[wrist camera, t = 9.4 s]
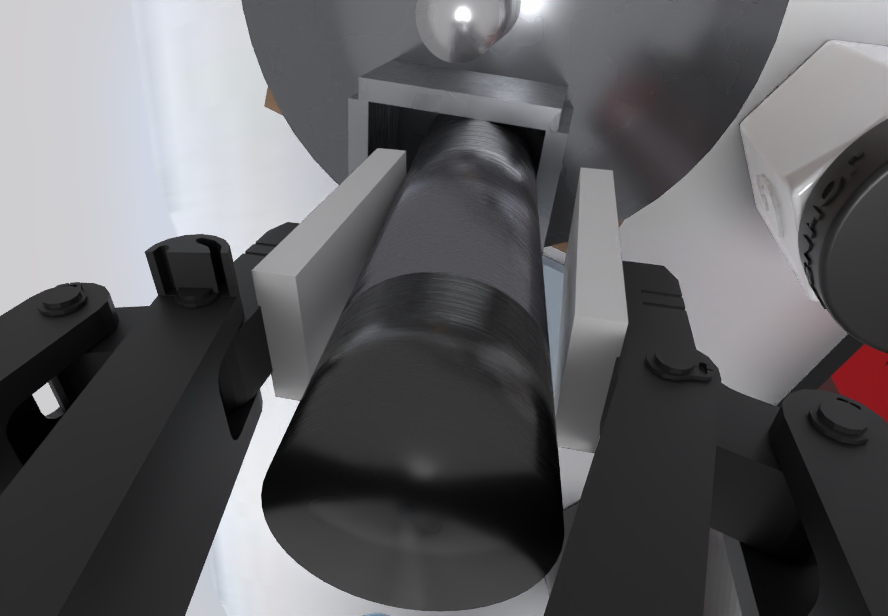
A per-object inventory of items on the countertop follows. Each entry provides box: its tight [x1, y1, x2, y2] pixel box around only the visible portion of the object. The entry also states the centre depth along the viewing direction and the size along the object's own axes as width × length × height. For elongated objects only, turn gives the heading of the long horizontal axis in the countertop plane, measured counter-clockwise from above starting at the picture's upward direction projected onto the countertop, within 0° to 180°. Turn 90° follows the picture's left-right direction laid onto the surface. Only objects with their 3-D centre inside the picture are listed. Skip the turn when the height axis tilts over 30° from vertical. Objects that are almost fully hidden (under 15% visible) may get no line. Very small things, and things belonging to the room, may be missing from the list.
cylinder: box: [261, 113, 564, 611], centre depth 12 cm, size 4×4×14 cm
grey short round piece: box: [242, 0, 789, 253], centre depth 16 cm, size 16×16×8 cm
